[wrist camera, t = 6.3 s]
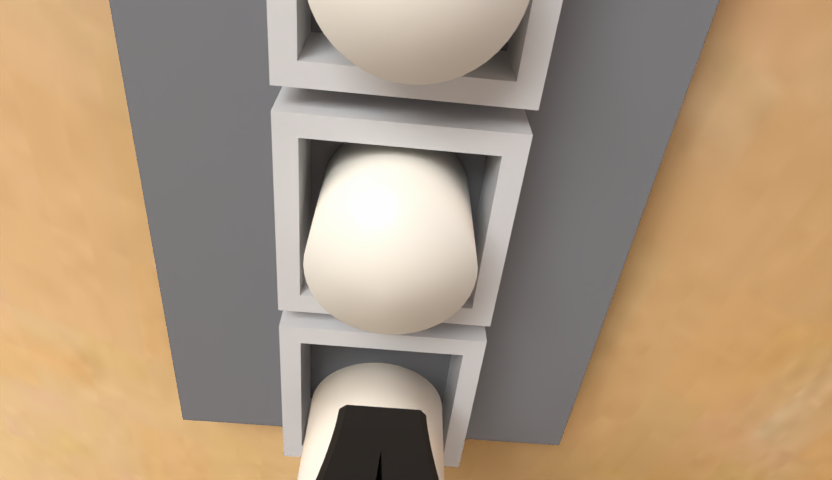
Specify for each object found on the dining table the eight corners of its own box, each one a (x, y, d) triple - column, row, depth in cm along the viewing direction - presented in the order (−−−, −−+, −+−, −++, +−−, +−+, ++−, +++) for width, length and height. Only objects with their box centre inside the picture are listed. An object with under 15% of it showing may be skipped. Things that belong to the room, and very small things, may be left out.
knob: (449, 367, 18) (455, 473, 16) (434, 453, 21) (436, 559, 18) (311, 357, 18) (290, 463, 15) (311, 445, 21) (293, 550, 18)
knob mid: (479, 132, 16) (490, 204, 14) (458, 256, 19) (464, 340, 16) (323, 118, 16) (302, 189, 13) (322, 245, 18) (303, 327, 16)
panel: (765, -253, 13) (875, -268, 10) (550, 403, 26) (569, 493, 22) (93, -338, 13) (-19, -382, 10) (198, 378, 25) (165, 466, 22)
